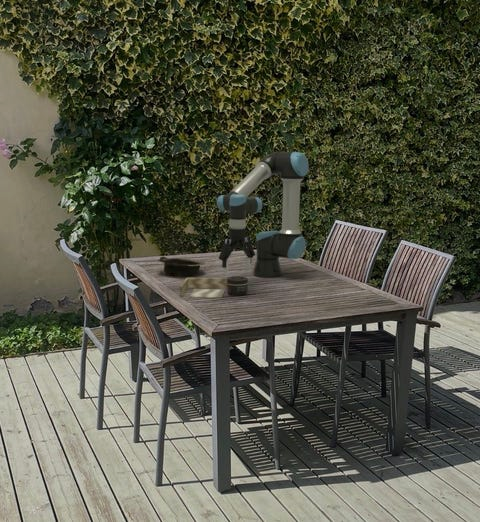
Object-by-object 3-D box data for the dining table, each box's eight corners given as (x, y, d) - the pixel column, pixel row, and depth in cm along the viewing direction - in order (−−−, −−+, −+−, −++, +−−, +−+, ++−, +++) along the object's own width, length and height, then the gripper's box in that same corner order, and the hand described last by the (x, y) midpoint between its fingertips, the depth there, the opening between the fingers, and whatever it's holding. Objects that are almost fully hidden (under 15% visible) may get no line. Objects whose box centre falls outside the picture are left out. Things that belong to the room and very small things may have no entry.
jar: (223, 292, 354) (223, 277, 352) (242, 290, 358) (242, 275, 356) (232, 297, 345) (232, 281, 343) (251, 295, 349) (251, 279, 348)
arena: (233, 288, 362) (233, 278, 361) (229, 298, 343) (229, 287, 342) (186, 287, 364) (186, 277, 363) (179, 297, 345) (179, 286, 344)
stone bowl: (151, 276, 387) (151, 259, 386) (171, 270, 411) (171, 254, 410) (194, 279, 379) (194, 261, 378) (212, 273, 402) (213, 256, 401)
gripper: (252, 224, 356) (251, 268, 360) (211, 229, 340) (211, 274, 344) (262, 226, 350) (262, 270, 354) (221, 231, 335) (221, 277, 338)
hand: (236, 272), depth 349 cm, fingers open, 13 cm apart
